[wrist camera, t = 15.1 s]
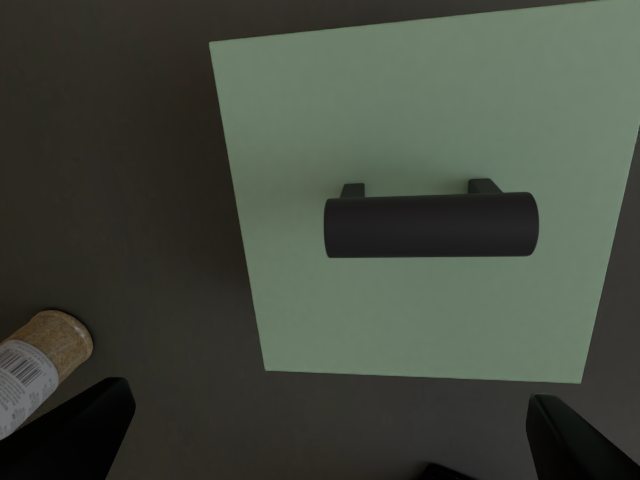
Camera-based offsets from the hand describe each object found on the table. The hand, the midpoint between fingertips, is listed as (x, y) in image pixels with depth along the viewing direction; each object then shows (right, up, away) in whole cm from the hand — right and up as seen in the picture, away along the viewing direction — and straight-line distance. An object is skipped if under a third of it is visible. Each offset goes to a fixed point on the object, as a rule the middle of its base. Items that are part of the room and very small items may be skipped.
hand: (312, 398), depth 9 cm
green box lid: (+4, +4, +6) cm, 8 cm away
